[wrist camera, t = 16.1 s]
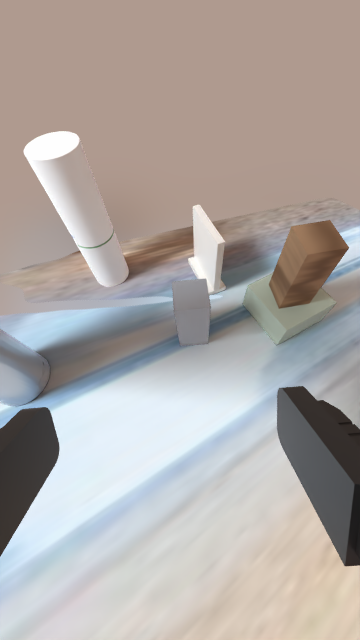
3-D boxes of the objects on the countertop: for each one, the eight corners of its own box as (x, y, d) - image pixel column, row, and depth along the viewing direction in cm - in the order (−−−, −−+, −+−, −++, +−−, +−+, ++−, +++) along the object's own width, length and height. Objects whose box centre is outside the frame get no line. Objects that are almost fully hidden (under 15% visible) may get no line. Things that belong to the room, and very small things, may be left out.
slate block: (180, 346, 43) (173, 310, 33) (178, 321, 46) (171, 281, 35) (208, 343, 43) (210, 307, 33) (204, 319, 45) (206, 278, 35)
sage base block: (276, 346, 42) (286, 330, 37) (242, 304, 47) (247, 285, 42) (320, 320, 44) (336, 302, 39) (283, 283, 49) (294, 262, 43)
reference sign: (207, 296, 48) (209, 246, 37) (188, 261, 53) (185, 208, 42) (225, 289, 48) (233, 238, 37) (205, 256, 53) (206, 202, 42)
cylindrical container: (118, 256, 55) (65, 126, 33) (135, 274, 52) (89, 144, 30) (90, 272, 53) (15, 145, 32) (106, 292, 50) (36, 167, 29)
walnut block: (278, 308, 39) (307, 254, 29) (268, 284, 41) (291, 226, 31) (309, 303, 39) (349, 247, 29) (297, 279, 41) (329, 220, 31)
